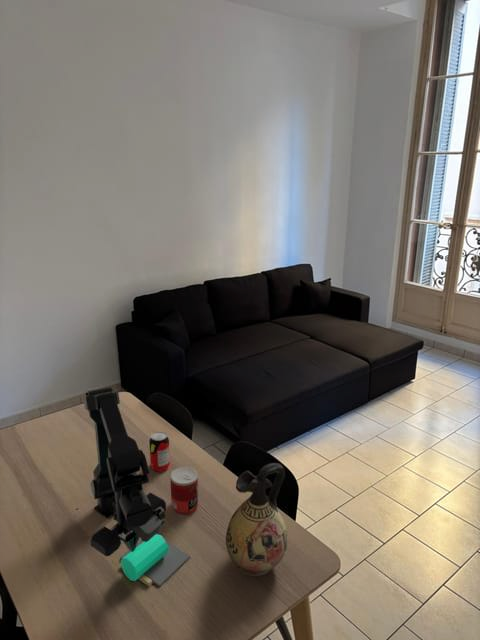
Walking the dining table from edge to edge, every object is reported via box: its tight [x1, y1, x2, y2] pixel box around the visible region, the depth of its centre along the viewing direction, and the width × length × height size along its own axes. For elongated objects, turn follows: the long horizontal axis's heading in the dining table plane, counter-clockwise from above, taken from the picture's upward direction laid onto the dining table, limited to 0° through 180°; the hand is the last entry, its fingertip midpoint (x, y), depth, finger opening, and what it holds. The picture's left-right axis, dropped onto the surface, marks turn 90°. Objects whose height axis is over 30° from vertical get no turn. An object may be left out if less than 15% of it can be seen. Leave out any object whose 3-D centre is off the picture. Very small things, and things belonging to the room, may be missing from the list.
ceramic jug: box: [225, 462, 288, 577], centre depth 118 cm, size 17×15×30 cm
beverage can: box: [149, 431, 171, 472], centre depth 157 cm, size 6×6×12 cm
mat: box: [120, 539, 191, 588], centre depth 124 cm, size 14×11×1 cm
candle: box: [120, 533, 168, 582], centre depth 121 cm, size 6×6×12 cm
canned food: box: [169, 466, 199, 515], centre depth 140 cm, size 8×8×11 cm
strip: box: [137, 574, 153, 588], centre depth 119 cm, size 10×1×1 cm, turn 54°
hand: (132, 550), depth 115 cm, fingers closed
